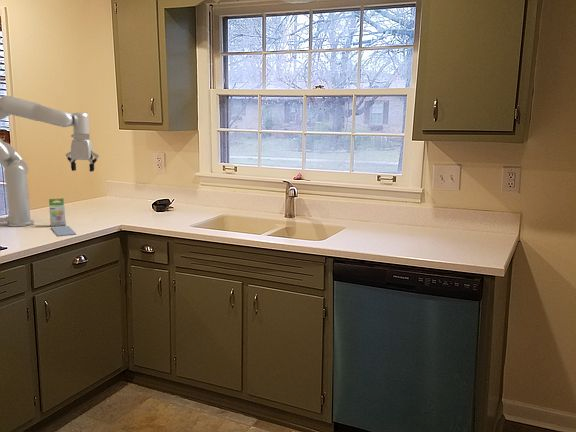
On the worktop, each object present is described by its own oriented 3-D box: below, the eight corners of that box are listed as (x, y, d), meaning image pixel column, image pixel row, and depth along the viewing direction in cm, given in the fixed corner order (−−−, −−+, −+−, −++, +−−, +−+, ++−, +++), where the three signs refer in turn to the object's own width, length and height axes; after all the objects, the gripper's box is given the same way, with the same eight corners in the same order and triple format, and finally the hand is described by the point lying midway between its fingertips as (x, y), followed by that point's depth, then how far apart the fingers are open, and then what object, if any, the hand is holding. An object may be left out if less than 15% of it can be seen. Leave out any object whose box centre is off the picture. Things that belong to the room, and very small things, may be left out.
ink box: (50, 226, 266) (48, 200, 264) (50, 225, 270) (48, 198, 267) (66, 225, 269) (64, 199, 266) (65, 224, 272) (64, 198, 270)
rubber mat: (57, 236, 246) (57, 235, 246) (51, 228, 263) (51, 227, 263) (76, 234, 250) (76, 233, 250) (68, 226, 267) (68, 225, 267)
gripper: (61, 136, 271) (63, 170, 274) (94, 138, 269) (95, 172, 272) (69, 136, 278) (70, 169, 281) (101, 137, 276) (102, 171, 279)
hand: (82, 171), depth 277 cm, fingers open, 9 cm apart
